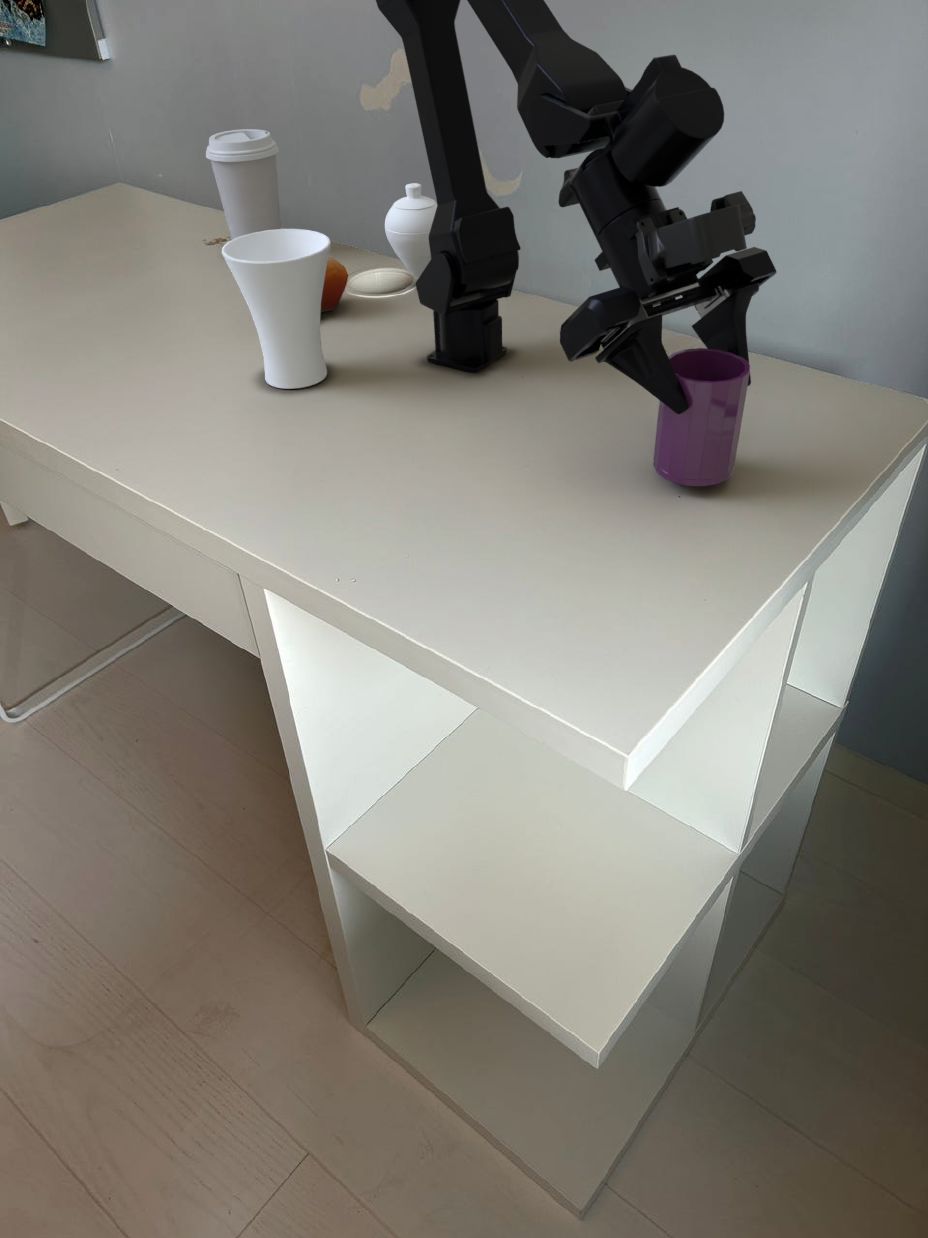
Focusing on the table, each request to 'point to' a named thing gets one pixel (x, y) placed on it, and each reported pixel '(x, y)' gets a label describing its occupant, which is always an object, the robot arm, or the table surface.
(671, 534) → the table surface
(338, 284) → the fruit
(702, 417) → the tumbler
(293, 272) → the cup
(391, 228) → the spinning top
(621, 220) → the robot arm
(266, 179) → the coffee cup
